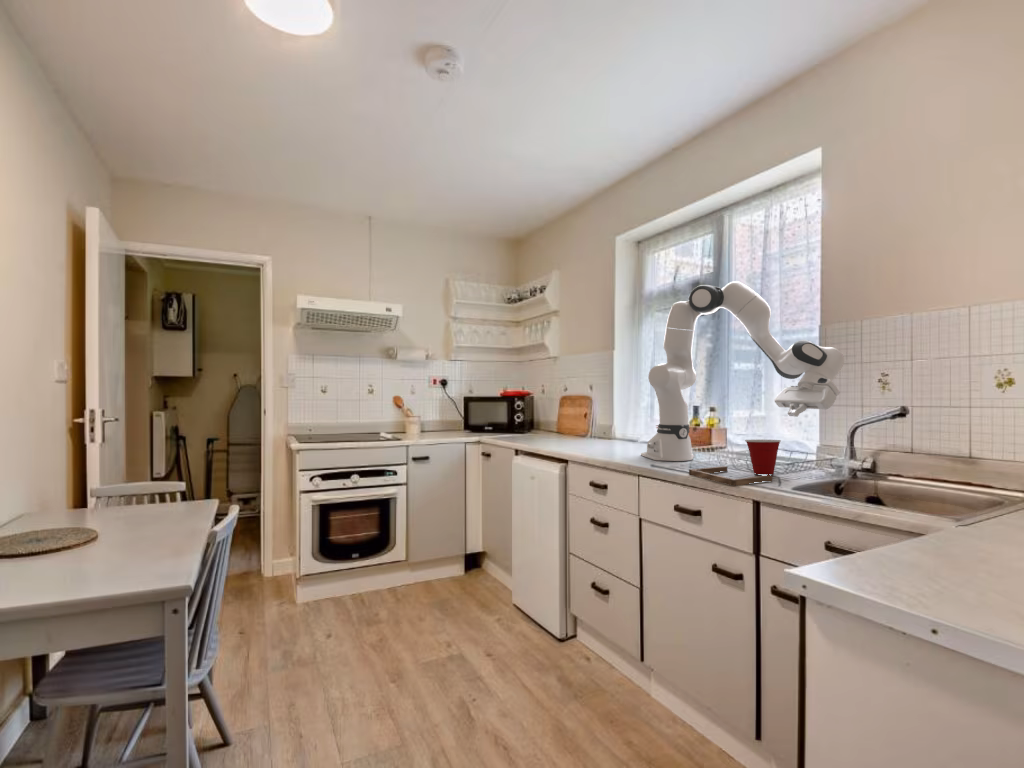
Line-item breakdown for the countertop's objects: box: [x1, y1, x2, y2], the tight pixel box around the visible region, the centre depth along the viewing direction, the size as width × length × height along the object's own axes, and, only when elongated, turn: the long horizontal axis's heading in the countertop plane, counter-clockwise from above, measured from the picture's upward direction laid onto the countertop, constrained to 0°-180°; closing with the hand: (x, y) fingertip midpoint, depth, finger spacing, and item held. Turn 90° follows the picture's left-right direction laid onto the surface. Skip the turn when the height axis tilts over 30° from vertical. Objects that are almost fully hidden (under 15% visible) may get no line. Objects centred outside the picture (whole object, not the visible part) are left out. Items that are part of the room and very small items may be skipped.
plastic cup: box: [744, 439, 782, 475], centre depth 168 cm, size 11×11×12 cm
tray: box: [688, 465, 773, 487], centre depth 163 cm, size 20×15×2 cm
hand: (792, 415), depth 172 cm, fingers closed
